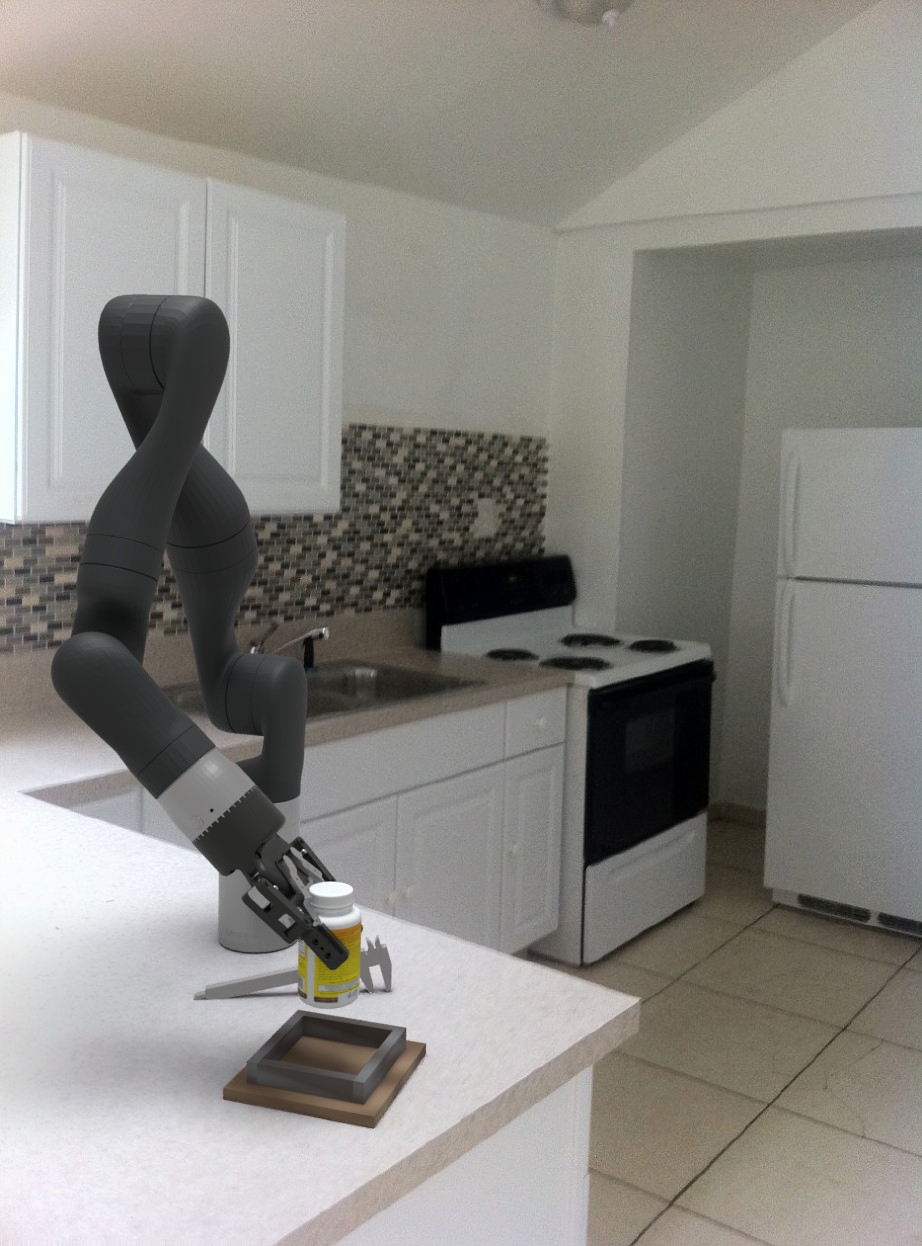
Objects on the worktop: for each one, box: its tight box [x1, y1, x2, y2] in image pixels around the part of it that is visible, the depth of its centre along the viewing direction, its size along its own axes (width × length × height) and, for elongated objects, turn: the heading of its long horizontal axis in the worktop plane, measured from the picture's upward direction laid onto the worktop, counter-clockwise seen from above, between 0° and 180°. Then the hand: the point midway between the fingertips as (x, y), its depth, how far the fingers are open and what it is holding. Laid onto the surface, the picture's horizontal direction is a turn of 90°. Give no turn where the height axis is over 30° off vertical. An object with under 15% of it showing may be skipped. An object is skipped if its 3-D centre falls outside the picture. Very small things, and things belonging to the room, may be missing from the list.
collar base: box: [222, 1009, 427, 1129], centre depth 113 cm, size 14×14×3 cm
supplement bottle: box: [297, 881, 362, 1010], centre depth 112 cm, size 6×6×10 cm
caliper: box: [193, 934, 393, 1001], centre depth 130 cm, size 20×1×6 cm, turn 99°
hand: (348, 949), depth 112 cm, fingers closed on supplement bottle, 5 cm apart
